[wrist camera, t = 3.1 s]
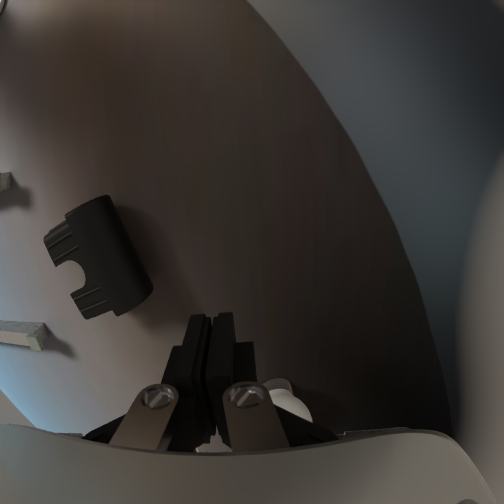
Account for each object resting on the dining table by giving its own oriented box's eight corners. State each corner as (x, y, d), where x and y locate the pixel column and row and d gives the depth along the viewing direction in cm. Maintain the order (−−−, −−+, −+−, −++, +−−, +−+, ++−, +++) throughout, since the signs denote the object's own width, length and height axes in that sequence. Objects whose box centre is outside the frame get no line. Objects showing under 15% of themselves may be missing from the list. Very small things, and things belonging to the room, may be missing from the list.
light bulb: (262, 410, 35) (269, 475, 25) (240, 380, 34) (242, 450, 23) (308, 393, 35) (327, 457, 24) (290, 360, 33) (308, 429, 22)
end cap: (162, 277, 29) (144, 307, 23) (111, 299, 30) (86, 329, 23) (120, 190, 26) (89, 198, 20) (71, 219, 27) (35, 234, 20)
